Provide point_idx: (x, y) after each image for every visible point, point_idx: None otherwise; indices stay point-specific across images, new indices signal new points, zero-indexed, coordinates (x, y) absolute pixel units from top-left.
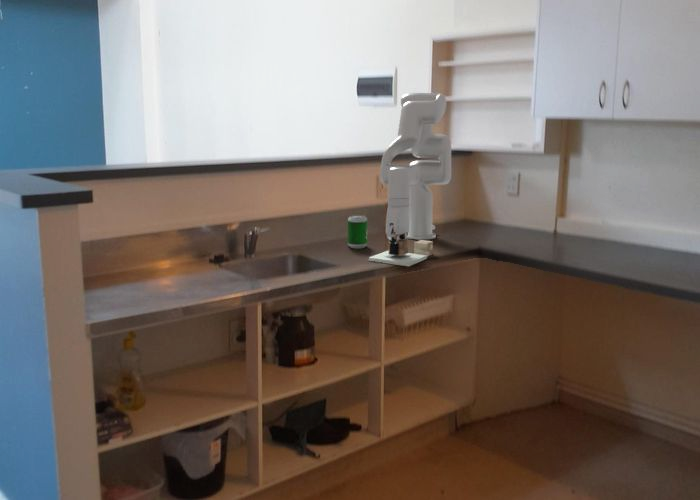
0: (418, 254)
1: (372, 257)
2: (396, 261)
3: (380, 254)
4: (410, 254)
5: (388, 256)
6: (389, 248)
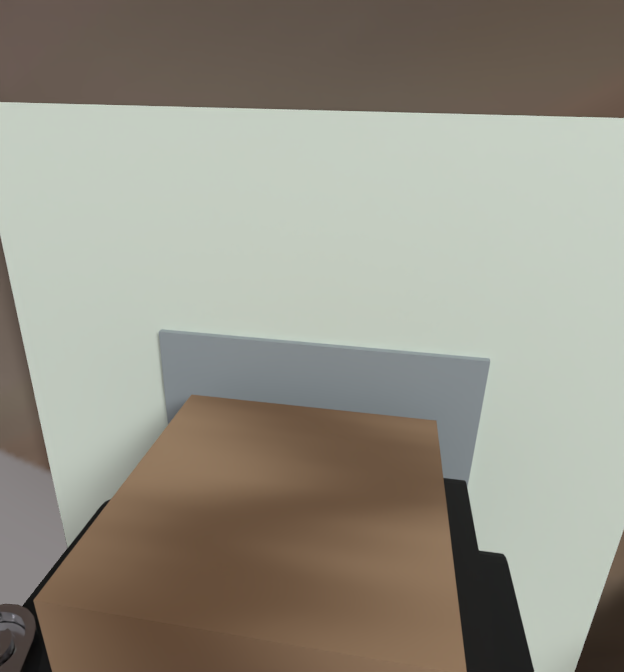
0: (565, 658)
1: (14, 163)
2: (65, 538)
3: (290, 173)
4: (520, 580)
5: (207, 374)
6: (146, 473)
